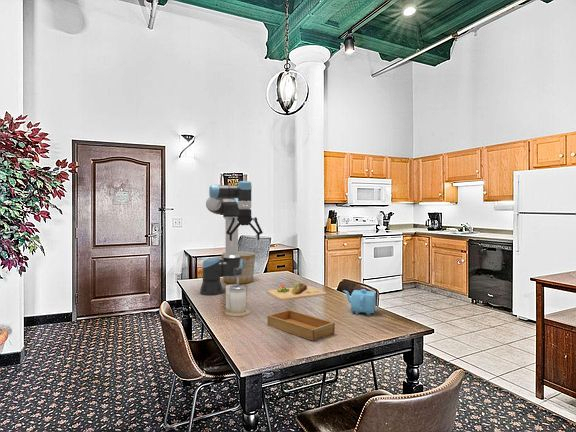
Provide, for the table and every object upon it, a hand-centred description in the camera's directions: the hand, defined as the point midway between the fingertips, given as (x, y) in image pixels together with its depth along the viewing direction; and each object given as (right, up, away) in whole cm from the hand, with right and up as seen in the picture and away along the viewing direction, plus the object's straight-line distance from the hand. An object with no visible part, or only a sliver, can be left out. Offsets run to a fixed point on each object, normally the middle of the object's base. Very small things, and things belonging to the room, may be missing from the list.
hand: (244, 246), depth 206 cm
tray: (+30, -38, -29) cm, 57 cm away
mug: (-7, -36, +16) cm, 40 cm away
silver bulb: (-3, -23, -4) cm, 23 cm away
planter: (-14, -34, +79) cm, 87 cm away
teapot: (+64, -37, 0) cm, 74 cm away
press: (-3, -36, -3) cm, 37 cm away
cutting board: (+30, -36, +42) cm, 63 cm away
